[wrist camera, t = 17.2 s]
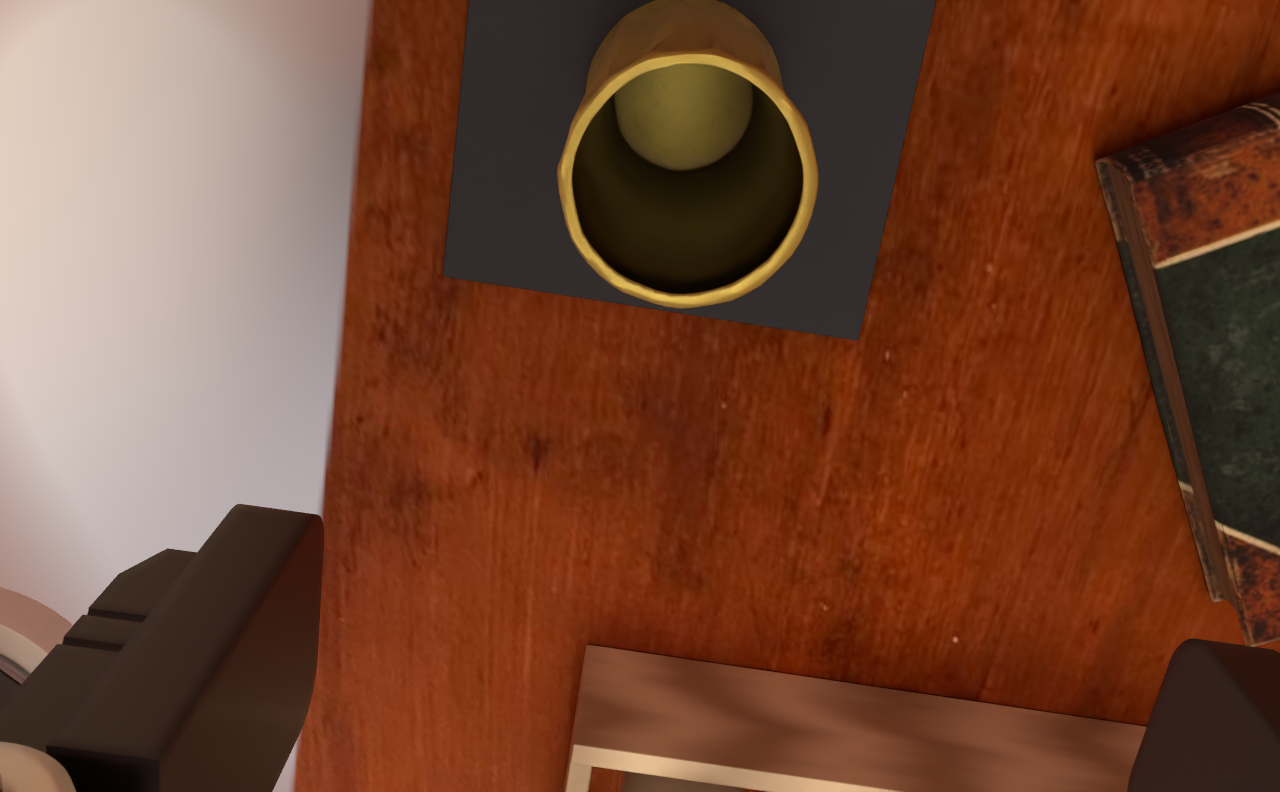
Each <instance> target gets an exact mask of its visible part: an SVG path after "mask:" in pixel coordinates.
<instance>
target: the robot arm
mask: <svg viewBox="0 0 1280 792" xmlns="http://www.w3.org/2000/svg"><path fill="white" fill-rule="evenodd" d="M323 546H324V529H323V522H322V519H321V517H320V516H319V515H316V514H308V513H301V512H294V511H287V510H279V509H272V508H265V507H258V506H251V505H244V504H237V505H235V506H234V507H233V508H232V509H231V510H230V512H229V513H228V514H227V515H226V517H225V518H224V519H223V521H222V522H221V523H220V525H219V526H218V527H217V528H216V530H215V531H214V532H213V533H212V535H211V536H210V537H209V539H208V540H207V541H206V542H205V543H204V545H203V546H202V548H201V549H200V550H199V551H198V552H197V553H196V552H188V551H182V550H174V549H166V550H164V551H162V552H160V553H158V554H156V555H154V556H152V557H150V558H149V559H147V560H145V561H143V562H141V563H139V564H137V565H135V566H133V567H132V568H129V569H128V570H126V571H124V572H122V573H120V574H118V575H117V577H116V578H115V579H114V580H113V581H112V582H111V583H110V585H109V586H108V587H107V588H106V589H105V590H104V591H103V593H102V594H101V595H100V596H99V597H98V598H97V599H96V600H95V601H94V603H93V604H92V605H91V606H90V607H89V611H88V614H87V615H82V616H81V617H80V619H79V620H78V621H77V622H76V623H75V624H74V625H73V626H72V628H71V629H70V630H69V631H68V632H67V633H66V634H65V635H64V639H63V642H62V644H56V646H55V647H54V648H53V649H52V650H51V651H50V652H49V654H48V655H47V656H46V657H45V658H44V659H43V660H42V661H41V663H40V664H39V665H38V666H37V667H36V668H35V669H34V671H33V672H32V673H31V674H29V673H28V672H27V671H26V670H25V669H23V668H22V667H21V666H19V665H18V664H17V663H15V662H13V661H12V660H10V659H9V658H7V657H5V656H3V655H1V654H0V792H272V791H273V789H274V787H275V785H276V782H277V780H278V778H279V776H280V774H281V772H282V769H283V768H284V765H285V763H286V761H287V759H288V757H289V755H290V753H291V751H292V749H293V747H294V744H295V742H296V740H297V738H298V736H299V734H300V732H301V729H302V727H303V724H304V721H305V719H306V715H307V712H308V709H309V705H310V701H311V697H312V692H313V687H314V682H315V676H316V668H317V656H318V638H319V620H320V601H321V583H322V565H323ZM1127 792H1280V653H1278V652H1276V651H1275V650H1271V649H1265V648H1258V647H1251V646H1244V645H1237V644H1229V643H1222V642H1215V641H1208V640H1201V639H1189V640H1186V641H1184V642H1183V643H1182V644H1181V645H1180V646H1179V647H1178V648H1177V649H1176V651H1175V652H1174V654H1173V656H1172V658H1171V660H1170V663H1169V665H1168V668H1167V671H1166V674H1165V677H1164V680H1163V682H1162V685H1161V688H1160V691H1159V694H1158V696H1157V699H1156V702H1155V705H1154V708H1153V711H1152V713H1151V716H1150V719H1149V722H1148V725H1147V728H1146V730H1145V733H1144V736H1143V739H1142V742H1141V745H1140V747H1139V750H1138V753H1137V756H1136V759H1135V762H1134V764H1133V767H1132V770H1131V774H1130V777H1129V782H1128V788H1127Z"/></svg>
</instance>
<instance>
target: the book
mask: <svg viewBox="0 0 1280 792" xmlns="http://www.w3.org/2000/svg"><path fill="white" fill-rule="evenodd" d="M1095 166H1096V170H1097V173H1098V178H1099V183H1100V187H1101V190H1102V194H1103V197H1104V200H1105V203H1106V206H1107V210H1108V213H1109V216H1110V219H1111V222H1112V225H1113V229H1114V233H1115V237H1116V241H1117V245H1118V249H1119V253H1120V257H1121V261H1122V265H1123V269H1124V273H1125V277H1126V281H1127V285H1128V289H1129V293H1130V297H1131V301H1132V305H1133V309H1134V313H1135V317H1136V321H1137V325H1138V329H1139V333H1140V337H1141V342H1142V346H1143V350H1144V354H1145V358H1146V362H1147V366H1148V370H1149V374H1150V378H1151V382H1152V386H1153V390H1154V394H1155V398H1156V402H1157V406H1158V409H1159V413H1160V417H1161V420H1162V424H1163V427H1164V431H1165V435H1166V438H1167V442H1168V445H1169V449H1170V453H1171V456H1172V460H1173V463H1174V467H1175V471H1176V474H1177V478H1178V482H1179V485H1180V489H1181V492H1182V496H1183V500H1184V503H1185V507H1186V510H1187V514H1188V518H1189V521H1190V525H1191V529H1192V532H1193V536H1194V539H1195V543H1196V547H1197V550H1198V554H1199V557H1200V561H1201V565H1202V569H1203V572H1204V576H1205V580H1206V583H1207V587H1208V591H1209V595H1210V597H1211V599H1212V601H1213V602H1218V601H1222V600H1225V599H1228V601H1229V602H1230V604H1231V605H1232V606H1233V607H1234V608H1235V609H1236V611H1237V615H1238V618H1239V622H1240V626H1241V630H1242V634H1243V637H1244V641H1245V645H1246V646H1251V647H1255V646H1259V645H1262V644H1266V643H1270V642H1274V641H1277V640H1280V92H1278V93H1275V94H1273V95H1270V96H1267V97H1265V98H1262V99H1259V100H1256V101H1254V102H1251V103H1248V104H1246V105H1243V106H1240V107H1238V108H1235V109H1232V110H1229V111H1227V112H1224V113H1221V114H1219V115H1216V116H1213V117H1210V118H1208V119H1205V120H1202V121H1200V122H1197V123H1194V124H1191V125H1189V126H1186V127H1183V128H1181V129H1178V130H1175V131H1172V132H1170V133H1167V134H1164V135H1162V136H1159V137H1156V138H1154V139H1151V140H1148V141H1146V142H1143V143H1140V144H1138V145H1135V146H1132V147H1130V148H1127V149H1124V150H1122V151H1119V152H1116V153H1114V154H1111V155H1108V156H1105V157H1103V158H1100V159H1098V160H1096V161H1095Z"/></svg>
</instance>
